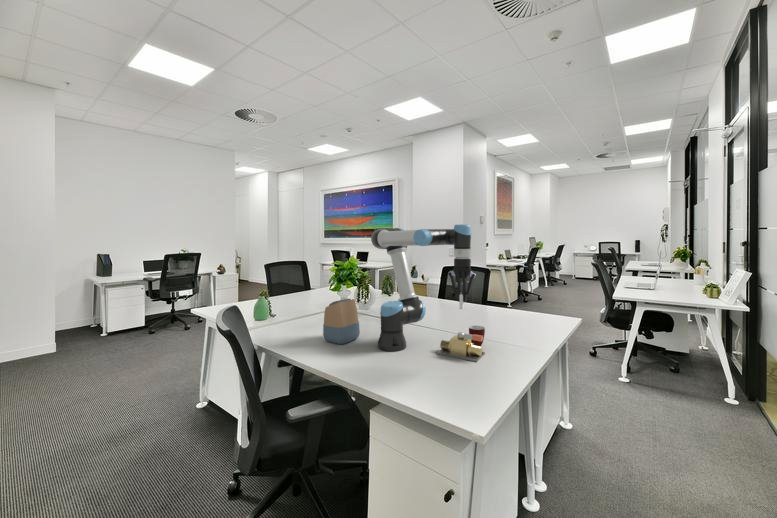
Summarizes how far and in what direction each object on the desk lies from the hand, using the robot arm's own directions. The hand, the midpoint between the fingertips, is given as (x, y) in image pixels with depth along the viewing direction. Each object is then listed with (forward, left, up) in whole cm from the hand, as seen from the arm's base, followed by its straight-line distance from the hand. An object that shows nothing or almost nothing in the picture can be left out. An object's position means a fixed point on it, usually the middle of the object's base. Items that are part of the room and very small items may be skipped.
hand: (462, 308), depth 158 cm
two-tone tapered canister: (-69, -6, -25) cm, 73 cm away
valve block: (-3, +6, -24) cm, 25 cm away
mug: (0, +20, -25) cm, 32 cm away
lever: (+1, +6, -16) cm, 18 cm away
